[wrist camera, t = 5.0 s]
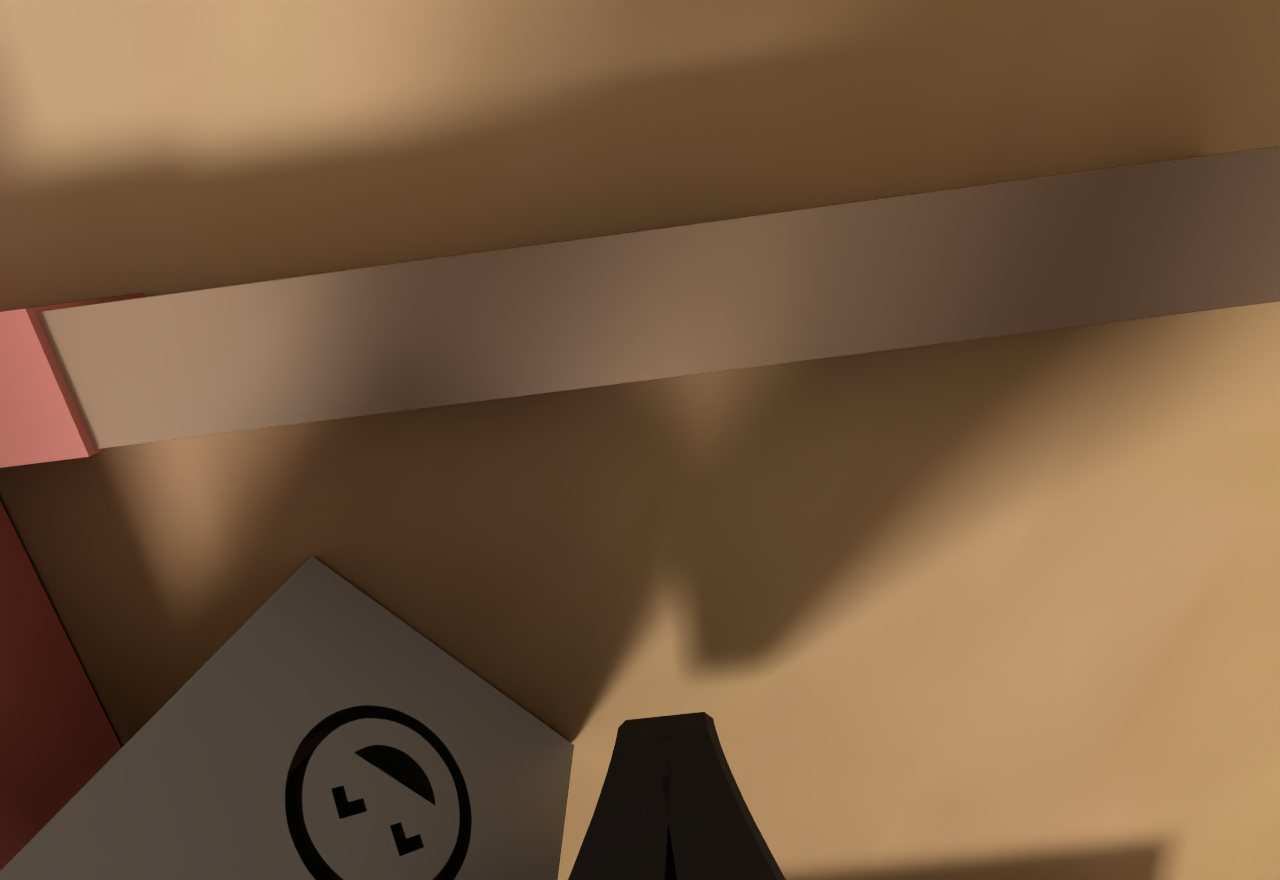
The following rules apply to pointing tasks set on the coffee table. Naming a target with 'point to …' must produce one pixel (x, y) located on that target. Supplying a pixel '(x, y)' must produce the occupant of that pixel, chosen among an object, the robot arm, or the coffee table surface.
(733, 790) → the robot arm
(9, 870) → the dice cube
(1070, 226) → the guide channel
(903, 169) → the coffee table surface
